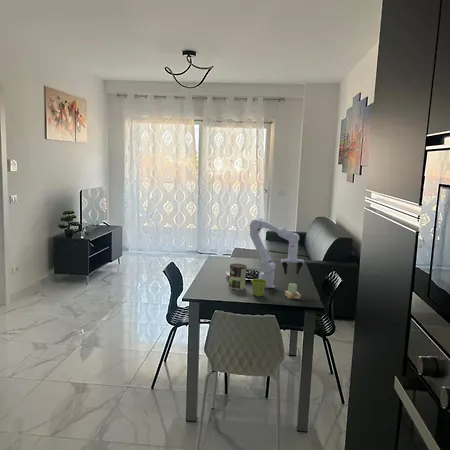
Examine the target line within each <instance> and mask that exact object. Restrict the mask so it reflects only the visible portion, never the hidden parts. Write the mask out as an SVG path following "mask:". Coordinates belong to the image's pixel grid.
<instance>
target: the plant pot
mask: <svg viewBox="0 0 450 450" xmlns="http://www.w3.org/2000/svg"><path fill="white" fill-rule="evenodd" d="M250 281H251V284H252V285H251V286H252V295H253V296H255V297H262V296H263V297H264V293H265V288H266V287H265V285H266V283H267V281H266V280H263V279H259V278H252V279H251V280H250Z"/></svg>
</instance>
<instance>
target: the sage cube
mask: <svg viewBox="0 0 450 450" xmlns="http://www.w3.org/2000/svg"><path fill="white" fill-rule="evenodd" d="M297 289H298V284H296V282H294V283H293V282H291V283H290V282H289V283H288V286H287V291H288V292H289V293H297V292H298V291H297Z"/></svg>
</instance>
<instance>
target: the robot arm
mask: <svg viewBox="0 0 450 450" xmlns="http://www.w3.org/2000/svg"><path fill="white" fill-rule="evenodd" d="M262 229H267V230H271V231H272V232H274V233H276V234H277V235H278V237H280V238H282V239H284V240H286V241H288V252H287V258H281V259H280V263H281V265H282V268H283V271H284V273H283V274H284V275H287V274H288V264H291V263H295V265H296V271H295V274H296V275H299V273H300V270H301V268H302V267H303V264H305V260H304V259H302V258H298V251H299V241H300V235H299V234H298V233H297V232H294V231H290V230H289V229H287V227H278V226H277V225H274V224H273V223H271V222H269V221H267V220H266V219H263V218H257V219H253V220H252V221H250V223H249V237H250V239H251V241H252V243H253V245H254V247H255V249H256V251H257V254H258V255H259V258H260V260H261V261H260V263H261V267H262V268H261V269H262V272H259V274H258V279H263V280H266V281H267V283H266V285H265V288H267V289H268V288H276V286H275V284H274V282H275V279H274V278H275V270H276V266H277V265H276V263H275V262H274V261H273V260H272V258H271V257H270V256H269V254H268V252H267V249H266V247H265V245H264V243H263V241H262V239H261V236H260V235H259V234H260V232H261V230H262Z"/></svg>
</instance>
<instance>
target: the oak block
mask: <svg viewBox="0 0 450 450" xmlns="http://www.w3.org/2000/svg"><path fill="white" fill-rule="evenodd" d="M284 295H285V297H287V298H288V300H294V299H295V300H296V299H299V300H300V299H301V294H300V293H299V292H298V291H297V293H289V292H288V290H285V291H284Z"/></svg>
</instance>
